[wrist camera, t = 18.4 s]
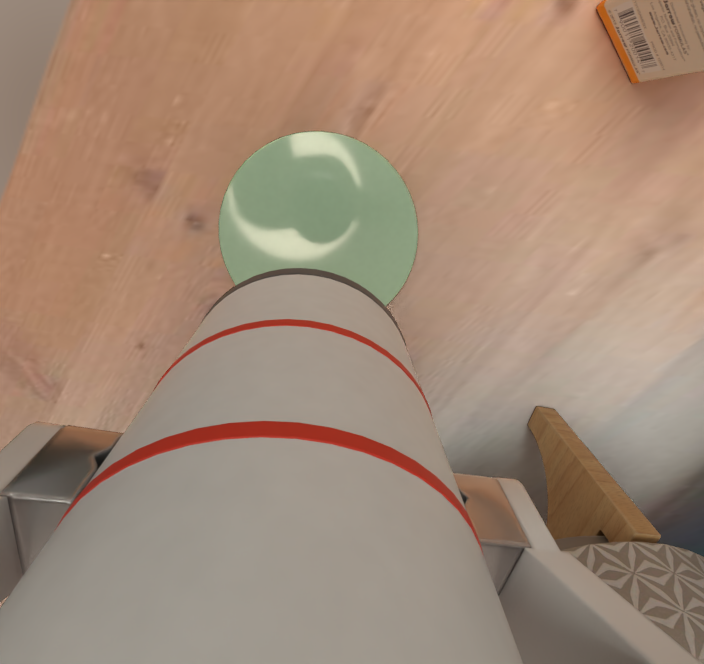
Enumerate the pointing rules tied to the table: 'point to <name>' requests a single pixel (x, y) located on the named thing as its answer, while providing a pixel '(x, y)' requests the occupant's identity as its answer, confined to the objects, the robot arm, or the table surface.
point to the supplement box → (656, 36)
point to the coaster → (320, 213)
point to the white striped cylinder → (270, 507)
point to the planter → (617, 536)
